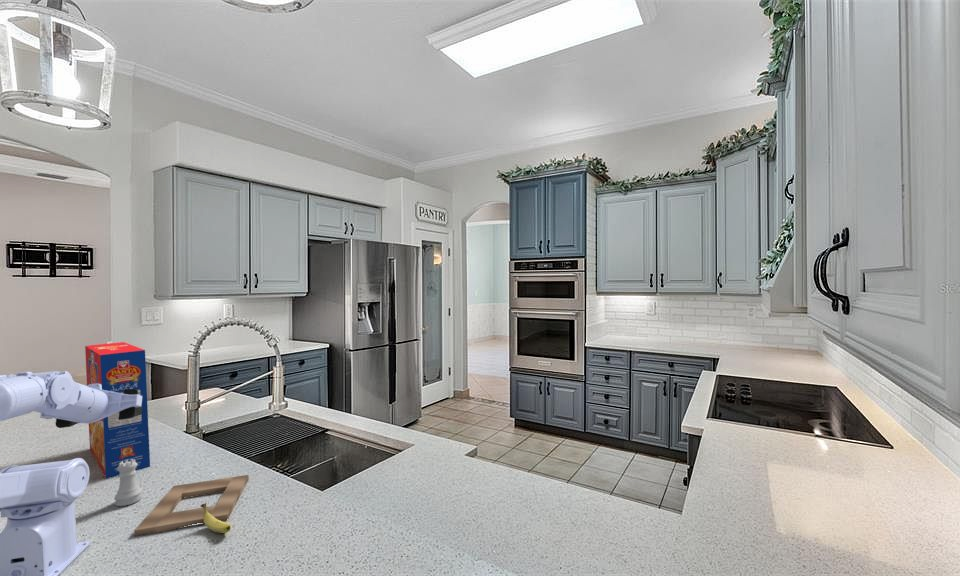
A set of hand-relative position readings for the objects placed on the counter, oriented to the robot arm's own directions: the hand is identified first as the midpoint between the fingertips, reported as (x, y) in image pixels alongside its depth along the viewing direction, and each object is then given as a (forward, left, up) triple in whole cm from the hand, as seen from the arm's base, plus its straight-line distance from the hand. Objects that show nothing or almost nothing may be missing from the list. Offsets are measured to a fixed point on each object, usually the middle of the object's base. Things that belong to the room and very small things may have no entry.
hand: (117, 413), depth 86 cm
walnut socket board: (-8, -16, -17) cm, 25 cm away
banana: (-20, -22, -18) cm, 35 cm away
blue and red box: (+27, +12, -18) cm, 34 cm away
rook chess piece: (-2, -2, -18) cm, 18 cm away
